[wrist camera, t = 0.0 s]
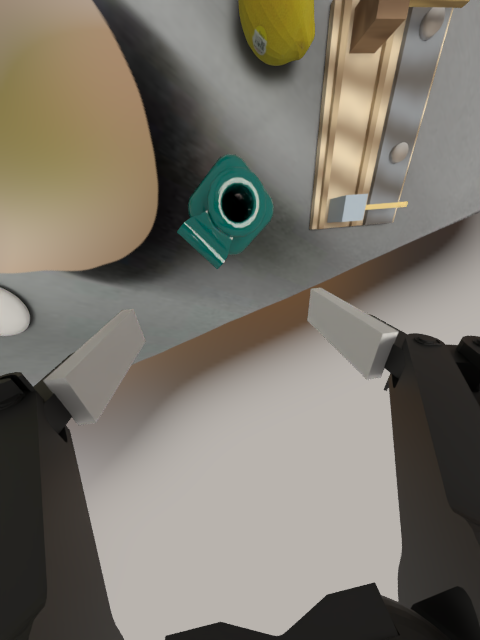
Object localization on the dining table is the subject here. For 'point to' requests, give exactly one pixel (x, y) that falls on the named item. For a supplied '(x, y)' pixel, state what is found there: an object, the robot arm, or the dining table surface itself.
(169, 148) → the dining table surface
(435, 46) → the gauge board
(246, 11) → the lemon
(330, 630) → the robot arm
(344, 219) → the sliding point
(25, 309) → the flower in vase
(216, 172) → the pitcher
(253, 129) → the dining table surface
